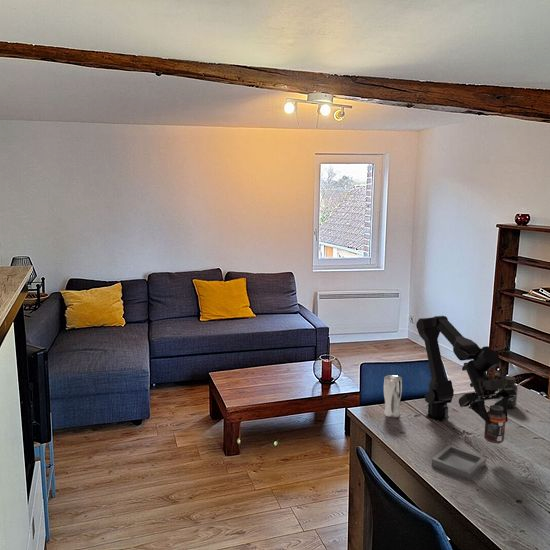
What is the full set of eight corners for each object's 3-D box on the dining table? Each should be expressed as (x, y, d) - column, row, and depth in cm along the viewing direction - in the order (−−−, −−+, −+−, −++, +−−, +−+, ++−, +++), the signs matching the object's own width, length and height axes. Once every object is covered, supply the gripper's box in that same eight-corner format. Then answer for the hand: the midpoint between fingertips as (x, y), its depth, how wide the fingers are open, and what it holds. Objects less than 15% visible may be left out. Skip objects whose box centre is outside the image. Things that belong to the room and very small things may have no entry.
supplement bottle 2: (500, 408, 203) (502, 380, 201) (495, 401, 209) (497, 374, 207) (518, 409, 202) (520, 381, 200) (512, 402, 209) (515, 375, 206)
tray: (431, 466, 161) (431, 458, 161) (448, 451, 170) (449, 444, 170) (469, 481, 153) (470, 473, 152) (485, 465, 162) (486, 457, 161)
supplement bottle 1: (505, 445, 161) (508, 412, 159) (485, 443, 162) (487, 410, 160) (502, 436, 166) (505, 404, 164) (482, 434, 168) (485, 402, 166)
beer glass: (401, 411, 200) (403, 376, 198) (400, 419, 194) (401, 382, 191) (383, 409, 203) (385, 374, 200) (381, 416, 196) (382, 380, 194)
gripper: (466, 370, 162) (486, 417, 153) (515, 364, 166) (537, 410, 158) (450, 383, 170) (468, 429, 162) (497, 378, 175) (517, 422, 167)
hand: (498, 422), depth 162 cm, fingers closed on supplement bottle 1, 6 cm apart
